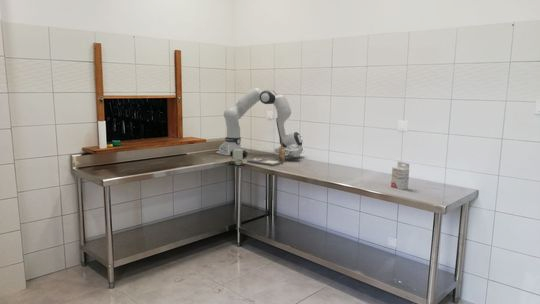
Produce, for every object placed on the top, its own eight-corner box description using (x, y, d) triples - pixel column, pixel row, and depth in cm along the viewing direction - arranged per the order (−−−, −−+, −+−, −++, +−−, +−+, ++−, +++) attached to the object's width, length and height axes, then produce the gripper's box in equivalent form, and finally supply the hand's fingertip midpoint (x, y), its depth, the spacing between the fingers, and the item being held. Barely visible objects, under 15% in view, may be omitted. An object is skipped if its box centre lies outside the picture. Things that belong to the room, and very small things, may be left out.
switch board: (247, 162, 308) (247, 159, 307) (257, 159, 318) (257, 157, 318) (272, 166, 294) (272, 163, 293) (283, 163, 304) (283, 161, 304)
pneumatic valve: (245, 165, 293) (245, 149, 291) (230, 164, 296) (230, 148, 295) (247, 164, 298) (247, 148, 297) (232, 163, 302) (232, 147, 300)
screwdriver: (277, 161, 312) (277, 140, 310) (280, 160, 316) (281, 140, 313) (282, 162, 309) (282, 141, 307) (286, 161, 313) (286, 140, 311)
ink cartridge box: (390, 186, 239) (392, 162, 236) (395, 185, 242) (397, 161, 239) (402, 190, 232) (404, 164, 230) (408, 188, 235) (410, 163, 232)
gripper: (280, 145, 327) (270, 147, 316) (302, 147, 315) (292, 149, 304) (280, 152, 328) (270, 155, 317) (301, 155, 316) (291, 158, 305)
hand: (281, 152), depth 311 cm, fingers closed on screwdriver, 5 cm apart
